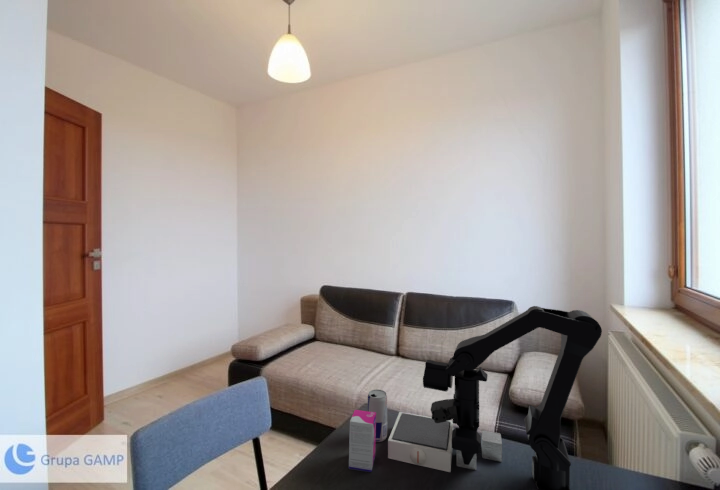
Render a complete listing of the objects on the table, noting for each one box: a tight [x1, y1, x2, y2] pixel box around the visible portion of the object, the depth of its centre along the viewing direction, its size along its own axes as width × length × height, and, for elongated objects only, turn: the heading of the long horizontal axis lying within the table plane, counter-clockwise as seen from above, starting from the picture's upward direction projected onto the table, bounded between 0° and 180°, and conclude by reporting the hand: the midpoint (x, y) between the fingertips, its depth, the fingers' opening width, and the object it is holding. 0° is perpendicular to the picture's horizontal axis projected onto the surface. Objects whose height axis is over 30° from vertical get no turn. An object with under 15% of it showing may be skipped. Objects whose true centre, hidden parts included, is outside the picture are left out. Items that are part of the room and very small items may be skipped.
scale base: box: [387, 411, 454, 473], centre depth 84 cm, size 15×14×4 cm
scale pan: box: [393, 412, 449, 451], centre depth 84 cm, size 13×12×1 cm
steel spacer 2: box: [481, 430, 503, 463], centre depth 81 cm, size 4×4×4 cm
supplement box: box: [348, 409, 377, 473], centre depth 78 cm, size 6×6×12 cm
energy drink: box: [367, 389, 388, 443], centre depth 88 cm, size 5×5×12 cm
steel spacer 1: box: [456, 450, 477, 471], centre depth 78 cm, size 4×4×4 cm
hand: (466, 457), depth 78 cm, fingers closed on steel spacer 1, 4 cm apart
